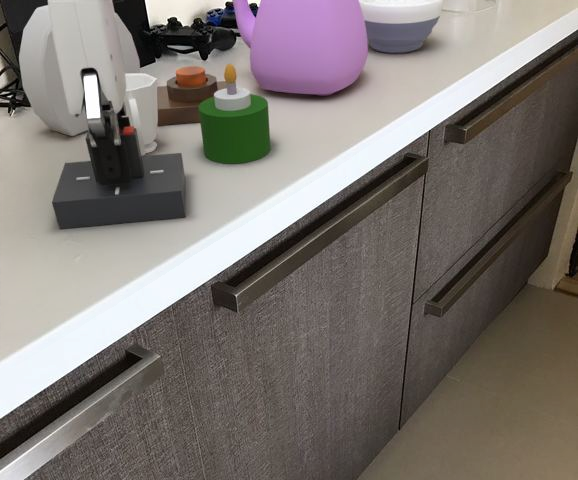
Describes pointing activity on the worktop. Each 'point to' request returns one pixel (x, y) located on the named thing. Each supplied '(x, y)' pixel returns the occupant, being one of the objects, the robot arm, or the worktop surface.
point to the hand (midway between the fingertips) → (118, 167)
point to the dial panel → (121, 194)
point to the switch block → (184, 100)
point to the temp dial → (132, 150)
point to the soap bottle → (57, 72)
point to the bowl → (399, 23)
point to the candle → (234, 124)
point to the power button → (190, 76)
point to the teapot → (304, 44)
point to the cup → (142, 108)
